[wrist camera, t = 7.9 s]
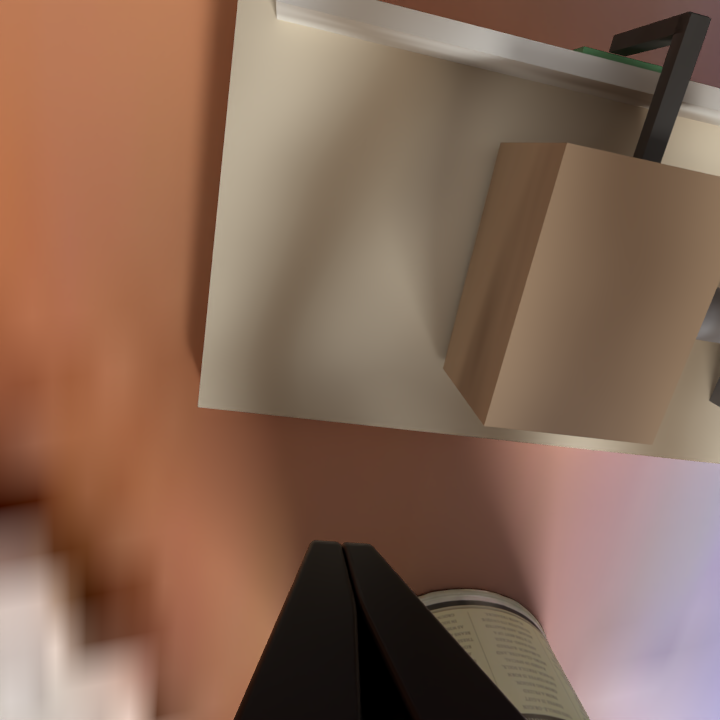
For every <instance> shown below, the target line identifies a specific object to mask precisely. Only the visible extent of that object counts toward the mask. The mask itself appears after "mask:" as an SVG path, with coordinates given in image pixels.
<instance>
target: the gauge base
mask: <svg viewBox="0 0 720 720" xmlns="http://www.w3.org/2000/svg"><path fill="white" fill-rule="evenodd" d="M662 68H663V67H662V66H658V65H654V64H650V63H646V62H642V61H639V60H635V59H631V58H627V57H623V56H619V55H615V54H612V53H608V52H604V51H600V50H596V49H592V48H588V47H585V46H584V47H581V48H578V49H575V50H569V49H565V48H561V47H557V46H553V45H549V44H545V43H541V42H538V41H534V40H530V39H526V38H522V37H518V36H514V35H510V34H506V33H502V32H499V31H495V30H491V29H487V28H483V27H479V26H475V25H471V24H467V23H464V22H460V21H456V20H452V19H448V18H444V17H440V16H436V15H432V14H428V13H425V12H421V11H417V10H413V9H409V8H405V7H401V6H397V5H393V4H390V3H386V2H382V1H378V0H238V6H237V16H236V26H235V36H234V46H233V56H232V66H231V76H230V86H229V97H228V107H227V117H226V127H225V137H224V147H223V157H222V167H221V177H220V187H219V198H218V208H217V218H216V228H215V238H214V248H213V258H212V268H211V278H210V288H209V299H208V309H207V319H206V329H205V339H204V349H203V359H202V369H201V379H200V389H199V400H198V407H201V408H211V409H220V410H229V411H238V412H248V413H257V414H266V415H275V416H284V417H294V418H303V419H312V420H321V421H330V422H340V423H349V424H358V425H367V426H377V427H386V428H395V429H404V430H413V431H423V432H432V433H441V434H450V435H459V436H469V437H478V438H487V439H496V440H506V441H515V442H524V443H533V444H542V445H552V446H561V447H570V448H579V449H588V450H598V451H607V452H616V453H625V454H635V455H644V456H653V457H662V458H671V459H681V460H690V461H699V462H708V463H718V464H720V343H715V342H709V341H702V340H695V342H694V345H693V347H692V349H691V352H690V354H689V357H688V359H687V362H686V364H685V366H684V369H683V371H682V374H681V376H680V379H679V381H678V383H677V386H676V388H675V391H674V393H673V396H672V398H671V400H670V403H669V405H668V408H667V410H666V413H665V415H664V417H663V420H662V422H661V425H660V427H659V430H658V432H657V434H656V437H655V439H654V442H653V444H652V445H648V444H639V443H631V442H622V441H613V440H604V439H595V438H586V437H577V436H569V435H560V434H551V433H542V432H533V431H524V430H515V429H507V428H498V427H489V426H484V425H483V424H482V422H481V421H480V420H479V418H478V417H477V415H476V414H475V413H474V411H473V410H472V408H471V407H470V406H469V404H468V403H467V401H466V400H465V399H464V397H463V396H462V395H461V393H460V392H459V390H458V389H457V388H456V386H455V385H454V383H453V382H452V381H451V379H450V378H449V376H448V375H447V374H446V372H445V371H444V369H443V366H444V362H445V358H446V354H447V350H448V346H449V342H450V339H451V335H452V331H453V327H454V323H455V319H456V315H457V311H458V307H459V303H460V299H461V295H462V292H463V288H464V284H465V280H466V276H467V272H468V268H469V264H470V260H471V256H472V252H473V249H474V245H475V241H476V237H477V233H478V229H479V225H480V221H481V217H482V213H483V209H484V206H485V202H486V198H487V194H488V190H489V186H490V182H491V178H492V174H493V170H494V166H495V162H496V159H497V155H498V151H499V147H500V143H501V142H529V143H571V144H576V145H580V146H585V147H589V148H594V149H598V150H603V151H607V152H612V153H616V154H621V155H625V156H630V157H633V155H634V152H635V149H636V146H637V143H638V140H639V137H640V134H641V131H642V128H643V125H644V122H645V119H646V116H647V113H648V110H649V107H650V104H651V101H652V98H653V95H654V92H655V89H656V86H657V83H658V80H659V77H660V74H661V71H662ZM661 164H666V165H670V166H675V167H679V168H684V169H688V170H693V171H697V172H702V173H706V174H711V175H715V176H720V88H717V87H713V86H709V85H705V84H701V83H697V82H693V81H689V84H688V87H687V90H686V92H685V95H684V98H683V101H682V104H681V107H680V110H679V112H678V115H677V118H676V121H675V124H674V127H673V130H672V132H671V135H670V138H669V141H668V144H667V147H666V149H665V152H664V155H663V158H662V161H661ZM717 287H719V288H720V282H719V284H718V286H717Z"/></svg>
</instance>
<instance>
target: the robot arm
mask: <svg viewBox="0 0 720 720" xmlns="http://www.w3.org/2000/svg"><path fill="white" fill-rule="evenodd" d="M234 720H527V719H526V718H525V717H524V716H523V715H522V714H521V713H520V711H519V710H518V709H517V708H516V707H515V706H514V705H513V704H512V702H511V701H510V700H509V699H508V698H507V697H506V696H505V695H504V693H503V692H502V691H501V690H500V689H499V688H498V687H497V686H496V684H495V683H494V682H493V681H492V680H491V679H490V678H489V677H488V675H487V674H486V673H485V672H484V671H483V670H482V669H481V668H480V666H479V665H478V664H477V663H476V662H475V661H474V660H473V659H472V657H471V656H470V655H469V654H468V653H467V652H466V651H465V650H464V648H463V647H462V646H461V645H460V644H459V643H458V642H457V641H456V639H455V638H454V637H453V636H452V635H451V634H450V633H449V632H448V630H447V629H446V628H445V627H444V626H443V625H442V624H441V623H440V621H439V620H438V619H437V618H436V617H435V616H434V615H433V614H432V612H431V611H430V610H429V609H428V608H427V607H426V606H425V605H424V603H423V602H422V601H421V600H420V599H419V598H418V597H417V596H416V594H415V593H414V592H413V591H412V590H411V589H410V588H409V587H408V585H407V584H406V583H405V582H404V581H403V580H402V579H401V578H400V576H399V575H398V574H397V573H396V572H395V571H394V570H393V569H392V567H391V566H390V565H389V564H388V563H387V562H386V561H385V560H384V558H383V557H382V556H381V555H380V554H379V553H378V552H377V551H376V549H375V548H374V547H373V546H371V545H370V544H364V543H349V542H346V543H343V544H342V545H341V544H339V543H338V542H334V541H319V540H314V541H312V542H311V543H310V545H309V547H308V550H307V552H306V554H305V557H304V559H303V561H302V564H301V566H300V568H299V570H298V573H297V575H296V577H295V580H294V582H293V584H292V587H291V589H290V591H289V593H288V596H287V598H286V600H285V603H284V605H283V607H282V610H281V612H280V614H279V616H278V619H277V621H276V623H275V626H274V628H273V630H272V633H271V635H270V637H269V639H268V642H267V644H266V646H265V649H264V651H263V653H262V656H261V658H260V660H259V662H258V665H257V667H256V669H255V672H254V674H253V676H252V679H251V681H250V683H249V685H248V688H247V690H246V692H245V695H244V697H243V699H242V702H241V704H240V706H239V708H238V711H237V713H236V715H235V718H234Z"/></svg>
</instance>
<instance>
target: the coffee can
mask: <svg viewBox="0 0 720 720" xmlns="http://www.w3.org/2000/svg"><path fill="white" fill-rule="evenodd" d="M418 598H419V599H420V600H421V601H422V602H423V603H424V605H425V606H426V607H427V608H428V609H429V610H430V611H431V612H432V614H433V615H434V616H435V617H436V618H437V619H438V620H439V621H440V623H441V624H442V625H443V626H444V627H445V628H446V629H447V630H448V632H449V633H450V634H451V635H452V636H453V637H454V638H455V639H456V641H457V642H458V643H459V644H460V645H461V646H462V647H463V648H464V650H465V651H466V652H467V653H468V654H469V655H470V656H471V657H472V659H473V660H474V661H475V662H476V663H477V664H478V665H479V666H480V668H481V669H482V670H483V671H484V672H485V673H486V674H487V675H488V677H489V678H490V679H491V680H492V681H493V682H494V683H495V684H496V686H497V687H498V688H499V689H500V690H501V691H502V692H503V693H504V695H505V696H506V697H507V698H508V699H509V700H510V701H511V702H512V704H513V705H514V706H515V707H516V708H517V709H518V710H519V711H520V713H521V714H522V715H523V716H524V717H525V718H526V719H527V720H590V719H589V717H588V715H587V713H586V712H585V710H584V708H583V706H582V704H581V702H580V701H579V699H578V697H577V695H576V693H575V691H574V690H573V688H572V686H571V684H570V682H569V681H568V679H567V677H566V675H565V673H564V671H563V670H562V668H561V666H560V664H559V662H558V660H557V659H556V657H555V655H554V653H553V651H552V650H551V647H550V645H549V643H548V641H547V639H546V635H545V633H544V631H543V629H542V627H541V626H540V624H539V622H538V621H537V620H536V618H535V617H534V616H533V615H532V614H531V613H530V612H529V611H528V610H527V609H526V608H524V607H523V606H522V605H521V604H519V603H518V602H516V601H514V600H512V599H510V598H507V597H504V596H501V595H500V594H497V593H493V592H489V591H484V590H475V589H452V590H445V591H436V592H431V593H428V594H425V595H422V596H419V597H418Z"/></svg>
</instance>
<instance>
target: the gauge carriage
mask: <svg viewBox="0 0 720 720" xmlns="http://www.w3.org/2000/svg"><path fill="white" fill-rule="evenodd" d="M710 21H711V18H709V17H707V16H703V15H700V14H696V13H693V12H686V13H683V14H680V15H677V16H674V17H671V18H668V19H664V20H661V21H658V22H655V23H652V24H649V25H646V26H642V27H639V28H636V29H633V30H630V31H627V32H624V33H620V34H617V35H614V37H613V40H612V44H611V47H610V50H609V52H611V53H614V54H618V55H622V56H629V55H633V54H637V53H641V52H645V51H649V50H653V49H657V48H661V47H665V46H669V45H670V47H669V50H668V53H667V56H666V59H665V62H664V65H663V68H662V71H661V74H660V77H659V80H658V83H657V86H656V89H655V92H654V95H653V98H652V101H651V104H650V107H649V110H648V113H647V116H646V119H645V122H644V125H643V128H642V131H641V134H640V137H639V140H638V143H637V146H636V149H635V152H634V155H633V157H630V156H625V155H621V154H616V153H612V152H607V151H603V150H598V149H594V148H589V147H585V146H580V145H576V144H571V143H529V142H501V143H500V147H499V151H498V155H497V159H496V162H495V166H494V170H493V174H492V178H491V182H490V186H489V190H488V194H487V198H486V202H485V206H484V209H483V213H482V217H481V221H480V225H479V229H478V233H477V237H476V241H475V245H474V249H473V252H472V256H471V260H470V264H469V268H468V272H467V276H466V280H465V284H464V288H463V292H462V295H461V299H460V303H459V307H458V311H457V315H456V319H455V323H454V327H453V331H452V335H451V339H450V342H449V346H448V350H447V354H446V358H445V362H444V366H443V369H444V371H445V372H446V374H447V375H448V376H449V378H450V379H451V381H452V382H453V383H454V385H455V386H456V388H457V389H458V390H459V392H460V393H461V395H462V396H463V397H464V399H465V400H466V401H467V403H468V404H469V406H470V407H471V408H472V410H473V411H474V413H475V414H476V415H477V417H478V418H479V420H480V421H481V422H482V424H483V425H484V426H489V427H498V428H507V429H515V430H524V431H533V432H542V433H551V434H560V435H569V436H577V437H586V438H595V439H604V440H613V441H622V442H631V443H639V444H648V445H652V444H653V442H654V439H655V437H656V434H657V432H658V430H659V427H660V425H661V422H662V420H663V417H664V415H665V413H666V410H667V408H668V405H669V403H670V400H671V398H672V396H673V393H674V391H675V388H676V386H677V383H678V381H679V379H680V376H681V374H682V371H683V369H684V366H685V364H686V362H687V359H688V357H689V354H690V352H691V349H692V347H693V345H694V342H695V340H702V341H709V342H715V343H720V288H719V287H717V286H718V284H719V282H720V176H715V175H711V174H706V173H702V172H697V171H693V170H688V169H684V168H679V167H675V166H670V165H666V164H661V161H662V158H663V155H664V152H665V149H666V147H667V144H668V141H669V138H670V135H671V132H672V130H673V127H674V124H675V121H676V118H677V115H678V112H679V110H680V107H681V104H682V101H683V98H684V95H685V92H686V90H687V87H688V84H689V81H690V78H691V75H692V72H693V70H694V67H695V64H696V61H697V58H698V55H699V52H700V50H701V47H702V44H703V41H704V38H705V35H706V32H707V30H708V27H709V24H710Z"/></svg>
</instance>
